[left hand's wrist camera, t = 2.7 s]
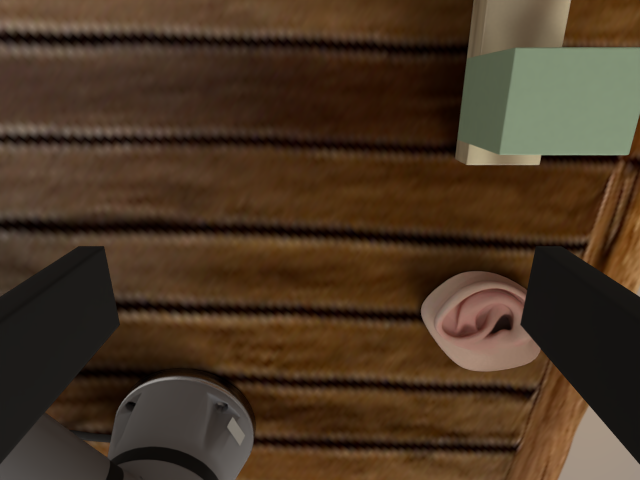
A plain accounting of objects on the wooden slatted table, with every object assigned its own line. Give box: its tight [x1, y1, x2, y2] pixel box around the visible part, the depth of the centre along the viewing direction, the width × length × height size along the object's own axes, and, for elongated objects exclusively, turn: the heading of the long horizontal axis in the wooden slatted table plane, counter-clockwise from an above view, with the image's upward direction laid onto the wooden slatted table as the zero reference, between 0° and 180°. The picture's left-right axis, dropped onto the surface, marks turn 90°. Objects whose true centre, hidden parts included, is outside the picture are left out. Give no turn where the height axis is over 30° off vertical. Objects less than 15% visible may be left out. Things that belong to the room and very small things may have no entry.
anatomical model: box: [421, 271, 541, 371], centre depth 39 cm, size 13×4×12 cm
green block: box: [458, 47, 640, 155], centre depth 27 cm, size 8×6×8 cm
